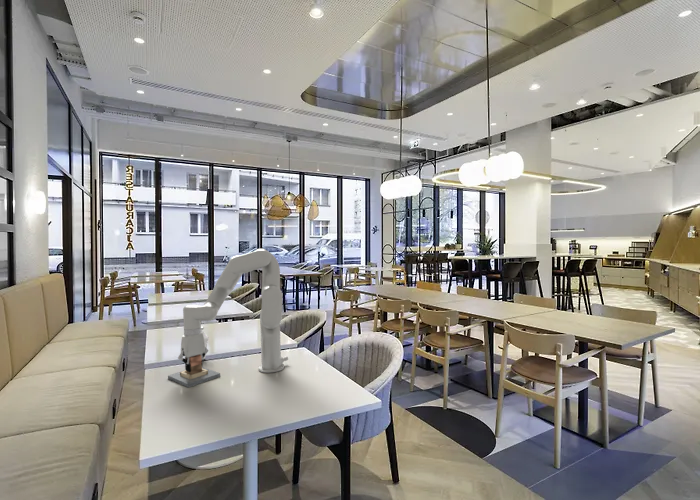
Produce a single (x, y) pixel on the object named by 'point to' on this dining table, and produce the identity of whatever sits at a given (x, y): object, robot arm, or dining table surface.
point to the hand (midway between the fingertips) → (194, 369)
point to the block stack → (195, 364)
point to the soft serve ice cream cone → (205, 340)
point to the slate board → (193, 377)
